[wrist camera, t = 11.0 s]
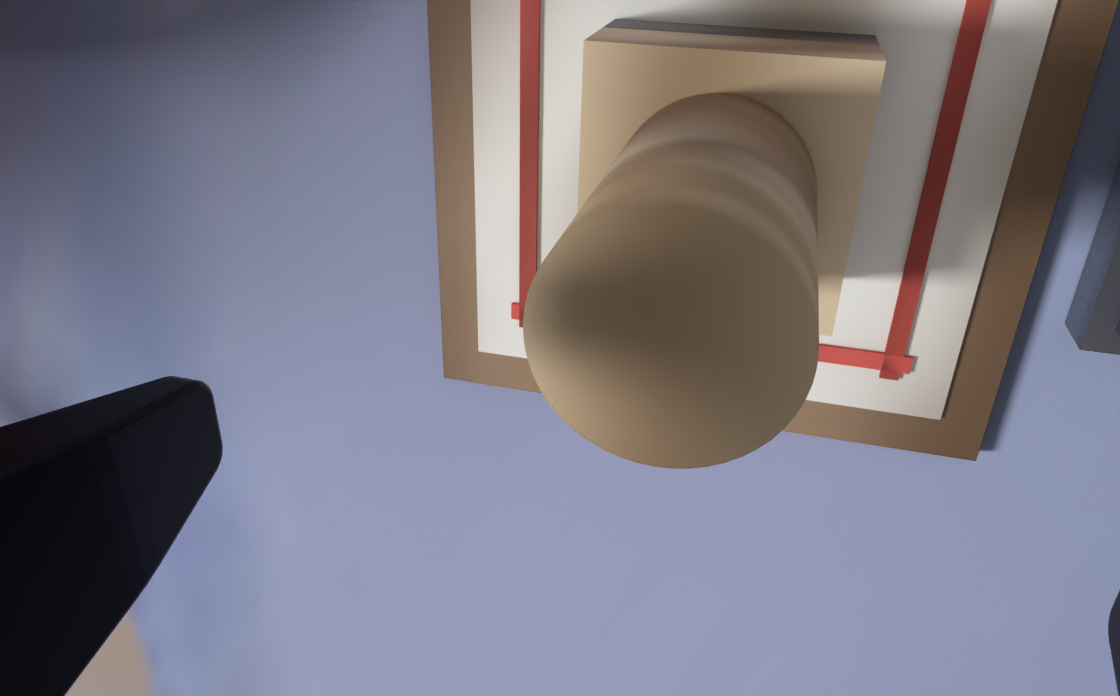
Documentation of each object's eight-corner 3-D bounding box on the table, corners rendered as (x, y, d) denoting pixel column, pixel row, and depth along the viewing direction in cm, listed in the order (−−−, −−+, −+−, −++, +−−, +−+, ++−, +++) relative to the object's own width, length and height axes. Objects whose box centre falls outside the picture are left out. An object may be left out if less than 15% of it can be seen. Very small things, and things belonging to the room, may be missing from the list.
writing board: (1174, -207, 14) (1188, -210, 14) (972, 451, 20) (977, 466, 20) (425, -212, 17) (413, -215, 16) (449, 370, 23) (441, 381, 23)
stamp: (875, 35, 16) (928, 164, 9) (829, 278, 19) (840, 542, 11) (615, 19, 17) (464, 122, 10) (603, 251, 20) (474, 476, 12)
